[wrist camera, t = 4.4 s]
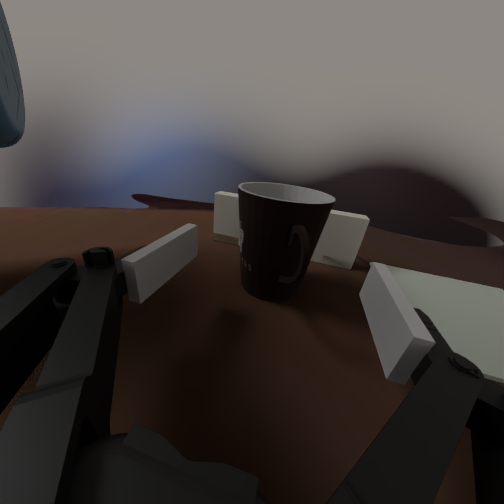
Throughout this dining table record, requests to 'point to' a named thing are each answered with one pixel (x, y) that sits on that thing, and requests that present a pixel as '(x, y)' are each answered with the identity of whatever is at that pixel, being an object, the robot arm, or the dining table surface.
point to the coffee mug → (278, 236)
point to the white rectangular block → (330, 242)
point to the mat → (461, 316)
